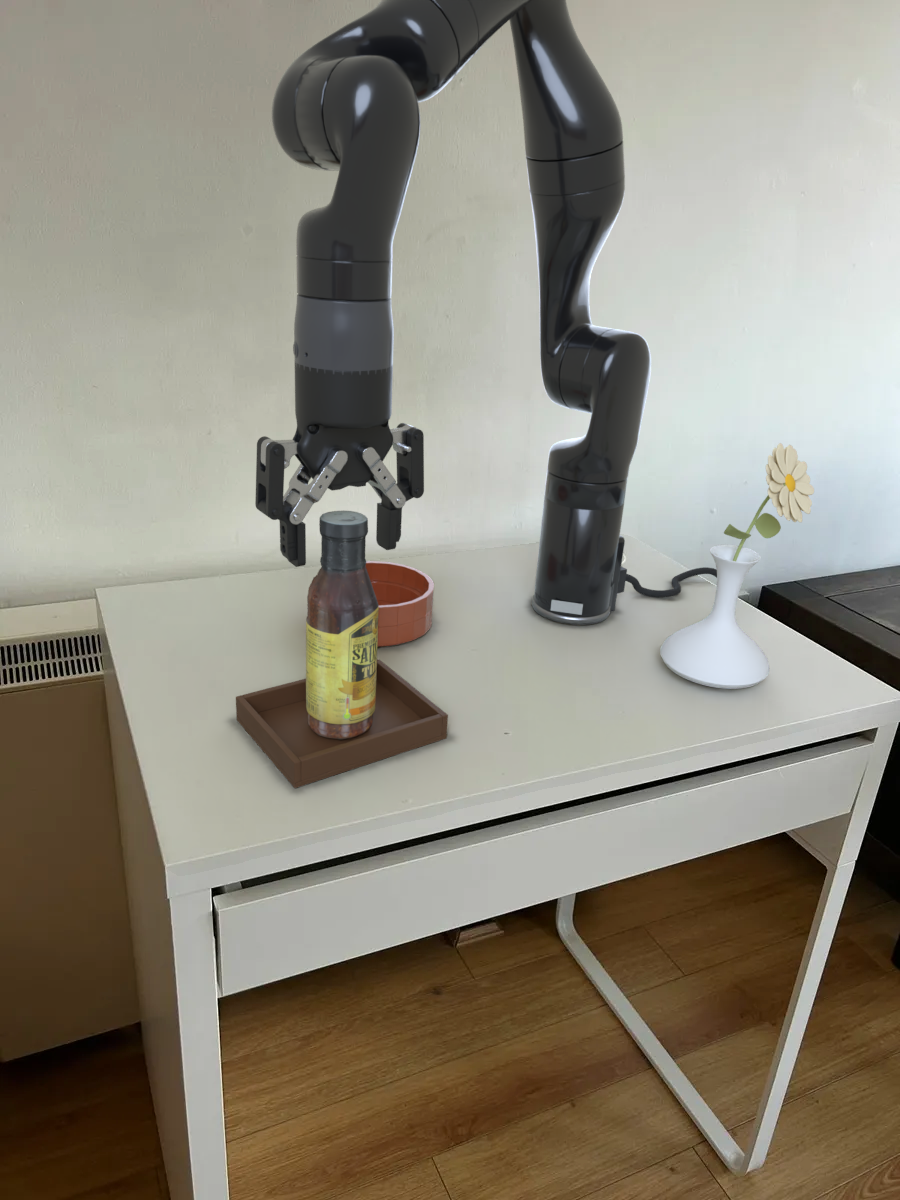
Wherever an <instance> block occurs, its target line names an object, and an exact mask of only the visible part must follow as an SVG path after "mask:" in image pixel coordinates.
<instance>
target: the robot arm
mask: <svg viewBox="0 0 900 1200" xmlns="http://www.w3.org/2000/svg"><path fill="white" fill-rule="evenodd" d="M508 22H509V25H510V31H511V37H512V43H513V49H514V57H515V65H516V73H517V79H518V88H519V97H520V105H521V113H522V123H523V124H522V126H523V135H524V136H523V140H524V151H525V152H524V153H525V154H524V155H525V161H526V162H525V163H526V172H527V181H528V182H527V183H528V190H529V196H530V203H531V204H530V205H531V210H532V219H533V227H534V228H533V229H534V236H535V239H534V240H535V250H536V263H537V275H538V276H537V277H538V292H539V293H538V294H539V295H538V296H539V360H540V361H539V362H540V374H541V380H542V384H543V388H544V391H545V393H546V395H547V397H548V398H549V399H550V401H551V402H552V403H554V404H556V405H558V406H559V407H563V408H565V409H569V410H573V411H578V412H581V413H582V412H583V413H587V414H590V419H589V422H588V428H587V431H586V433H585V434H584V435H583V436H580V437H572V438H568V439H564V440H560V441H557V442H555V443H553V444H552V445H551V447H550V448H549V451H548V457H547V467H546V474H545V475H546V476H545V485H544V495H543V506H542V515H541V526H540V535H539V543H538V544H539V545H538V554H537V562H536V563H537V564H536V572H535V581H534V582H535V583H534V591H533V592H534V594H533V596H532V602H531V603H532V606H531V607H532V609H533V610H534V612H536V613H537V614H538V615H539V616H541V617H543V618H545V619H547V620H550V621H553V622H556V623H560V624H566V625H575V626H583V625H586V626H587V625H593V624H597V623H601V622H603V621H605V620H606V619H608V618H609V616H610V613H612V612H615V611H616V605H617V598H618V594H621V593H624V592H625V587H626V582H628V583H630V584H631V585H632V587H633V589H634V591H635V592H636V593H638V594H640V595H643V596H647V597H651V598H669V597H674V596H675V597H676V596H678V595H679V594H680V593H681V591H682V586H681V584H680V582H682V581H684V580H687V579H689V578H692V577H695V576H699V575H711V576H713V577H715V578H716V579H717V569H716V568H713V567H706V566H705V567H696V568H693V569H688V570H687V571H683V572H682V573H679V574H676V575H675V576H673V577H672V579H671V582H670V584H671V586H672V588H671V589H664V590H661V589H660V590H659V589H650V588H646V587H643V586H642V585H641V583H640V580H639V579H638V578H637V577H635V576H633V575H631V574H629V573H628V569H627V568H625V567H623V566H622V563H623V555H624V548H625V544H626V543H625V542H626V541H625V537H624V536H623V535H621V529H622V523H623V515H624V508H625V500H626V493H627V486H628V478H629V473H630V467H631V463H632V461H633V459H634V456H635V453H636V450H637V447H638V443H639V439H640V433H641V427H642V422H643V421H642V420H643V417H644V411H645V407H646V402H647V398H648V393H649V387H650V381H651V373H652V355H651V349H650V347H649V344H648V341H647V340H646V339H645V338H644V337H643V335H641V334H639V333H637V332H633V331H629V330H624V329H617V328H611V327H605V326H598V325H594V324H593V322H592V318H591V307H590V286H591V285H590V284H591V277H592V272H593V269H594V266H595V264H596V261H597V259H598V257H599V255H600V253H601V251H602V249H603V247H604V245H605V244H606V241H607V239H608V237H609V236H610V234H611V231H612V229H613V227H614V225H615V223H616V221H617V218H618V217H619V214H620V211H621V208H622V206H623V203H624V198H625V193H626V173H625V172H626V171H625V169H626V168H625V150H624V149H625V147H624V131H623V122H622V118H621V114H620V111H619V109H618V106H617V104H616V101H615V100H614V97H613V95H612V93H611V92H610V90H609V88H608V86H607V85H606V82H605V81H604V79H603V78H602V75H601V74H600V72H599V71H598V69H597V68H596V65H595V64H594V63H593V61H592V59H591V58H590V56H589V54H588V52H587V51H586V49H585V47H584V46H583V44H582V42H581V40H580V39H579V36H578V34H577V31H576V29H575V27H574V25H573V22H572V18H571V15H570V12H569V8H568V5H567V0H380V2H379V3H378V4H377V5H376V6H375V7H374V8H372V9H371V10H370V11H368V12H366V13H365V14H363V15H361V16H360V17H358V18H356V19H354V20H352V21H351V22H349V23H347V24H345V25H343V26H342V27H340V28H338V29H337V30H335V31H334V32H332V33H330V34H328V35H327V36H326V37H324V38H323V39H321V40H319V41H318V42H316V43H315V44H313V45H312V46H311V47H309V48H307V49H306V50H305V51H304V52H302V53H301V54H300V55H298V57H296V58H295V59H294V60H293V61H292V62H291V63H290V65H289V66H288V68H287V69H286V70H285V71H284V72H283V74H282V76H281V78H280V80H279V81H278V84H277V86H276V89H275V91H274V95H273V99H272V105H271V124H272V129H273V132H274V135H275V138H276V140H277V143H278V144H279V146H280V148H281V149H282V151H283V152H284V154H286V155H287V156H288V157H289V158H290V159H291V160H292V161H293V162H294V163H297V164H298V165H300V166H302V167H304V168H308V169H311V170H314V171H315V170H316V171H323V172H325V171H327V172H338V173H337V174H338V175H337V179H336V182H335V186H334V190H333V193H332V196H331V198H330V202H329V203H328V204H326V205H325V206H322V207H317V208H314V209H311V210H309V211H306V212H305V213H303V214H302V215H301V218H300V219H299V221H298V223H297V228H296V238H295V239H296V240H295V241H296V242H295V243H296V244H295V245H296V247H295V248H296V249H295V250H296V307H295V315H294V321H293V323H294V324H293V340H294V341H293V345H292V352H293V356H294V411H295V419H296V429H295V433H294V435H293V437H292V439H272V438H270V437H268V436H266V435H265V436H261V437H259V438H258V440H257V442H256V466H255V504H254V505H255V508H256V510H258V511H259V512H260V513H262V514H263V515H264V516H266V517H267V518H269V519H270V520H273V521H276V520H278V521H279V546H280V547H279V550H280V553H281V555H282V556H283V557H284V558H285V559H286V560H287V561H288V562H289V563H290V564H292V566H294V567H296V568H297V567H298V568H299V567H303V566H304V567H305V566H306V564H307V541H306V539H307V537H306V532H307V531H306V523H305V522H303V521H304V519H305V518H306V517H307V514H308V513H309V511H310V510H311V509H312V507H313V505H314V504H316V503H318V502H319V501H320V500H321V499H322V498H323V496H324V495H325V493H326V491H327V490H329V491H339V490H340V491H341V490H342V489H343V490H344V489H345V488H348V487H356V488H361V487H367V483H368V484H369V485H370V486H371V488H372V489H373V490H374V492H375V493H376V495H377V496H378V497H379V499H380V501H381V502H377V503H376V530H375V531H376V533H375V534H376V535H375V537H376V538H375V539H376V543H377V545H378V546H379V547H381V548H382V549H384V550H385V551H392V550H395V549H396V548H397V543H399V542H400V540H401V538H402V519H403V518H402V517H403V515H402V514H403V507H404V506H405V505H406V503H407V502H408V501H411V499H420V498H422V497H423V495H424V492H425V450H424V449H425V447H424V446H425V445H424V444H425V443H424V441H425V439H424V431H423V430H421V429H420V428H417V427H416V426H413V425H410V424H407V423H405V422H400V423H399V424H397V426H396V427H395V428H390V425H389V424H390V423H389V422H390V420H391V417H392V414H393V413H392V410H393V409H392V408H393V377H394V376H393V375H394V373H393V372H394V341H395V340H394V339H395V336H394V334H395V327H394V317H393V309H392V295H393V294H392V289H393V245H394V238H395V234H396V232H397V231H396V230H397V228H398V224H399V221H400V217H401V214H402V211H403V207H404V202H405V199H406V195H407V190H408V188H409V184H410V180H411V177H412V173H413V170H414V165H415V162H416V159H417V154H418V150H419V149H418V148H419V144H420V136H421V111H420V104H419V103H423V102H426V101H429V100H430V99H432V98H433V97H435V96H436V95H438V94H439V93H440V92H441V91H442V90H444V89H445V88H446V87H447V85H449V83H450V82H452V81H453V79H455V77H456V76H457V75H458V74H459V73H460V71H462V70H463V68H464V67H465V66H466V65H467V64H468V63H469V62H470V61H471V60H472V59H473V57H474V56H475V55H477V53H478V52H479V51H480V50H481V49H482V48H483V46H485V44H486V43H487V42H488V41H489V40H490V39H491V38H492V37H493V36H495V34H496V33H497V32H498V31H499V30H501V28H502V27H504V25H505V24H507V23H508ZM391 449H393V451H394V452H396V479H395V478H394V476H393V475H392V473H391V472H390V471H389V469H388V467H386V465H385V464H384V463H385V462H383V461H384V460H385V459H386V457H387V455H388V453H389V452H390V450H391ZM293 456H295V457H296V459H297V460H298V461H299V463H300V464H299V465H298V467H297V468H296V470H295V471H294V473H293V475H292V477H291V478H290V479H289V481H288V488H287V490H286V492H285V493H284V490H285V489H284V487H285V486H284V484H285V469H287V468H289V467H290V466H291V465H290V463H291V459H292V458H293ZM311 479H312V481H311ZM310 481H311V482H310ZM309 482H310V483H309Z"/></svg>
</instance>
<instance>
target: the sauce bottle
mask: <svg viewBox="0 0 900 1200" xmlns="http://www.w3.org/2000/svg"><path fill="white" fill-rule="evenodd" d="M318 523H319V525H318V526H319V534H320V536H321V548H320V549H321V550H320V551H321V556H320V558H319V559H320V560H319V562H320V566H321V567H320V568H319V570H318V572H317V574H316V575H315V576H313V578H312V580H311V582H310V585H309V586H308V591H307V597H306V598H307V604H306V606H307V616H306V619H305V679H306V709H307V712H308V724H309V726H310V727H311V730H312V731H314V733H316V734H318V735H319V736H322V737H326V738H332V739H340V740H343V739H347V738H352V737H356V736H358V735H361V734H363V733H365V732H366V731H368V730H369V728H370V727H371V726H372V722H373V713H374V711H375V699H376V669H377V660H378V647H377V641H378V602H377V598H376V595H375V592H374V590H373V587H372V584H371V581H370V578H369V575H368V572H367V569H366V561H367V560H366V542H367V541H366V538H367V535H368V533H369V520H368V517H367V516H366V515H365V514H363V513H362V512H358V511H353V510H334V511H333V510H332V511H327V512H323V513H322V514H321V515H320V516H319V522H318Z"/></svg>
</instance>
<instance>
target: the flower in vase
mask: <svg viewBox="0 0 900 1200" xmlns="http://www.w3.org/2000/svg"><path fill="white" fill-rule="evenodd" d="M771 452H772V453H771V454H769V455H768V456H767V463H766V465H765V472H766V476H765V481H766V484H767V485H768V488H767V496H765V499H764V500H763V501H762V503H761V504H760V506H759V507H758V509H757V511H756V513H755V515H754V517H753V518H752V521H751V523H750V524H749V526H748V528H747V529H746V531H742V530H739V529H738V528H736V527H735V526H733V524H731V523H729V524H728V525H727V527H726V528H725V529H724V531H723V534H724V535H726V536H729V537H732V538H735V539H738V540H741V541H740V543H739V545H735V544H717V545H714V546H711V547H710V548H709V553H710V555H711V557H712V558H713V560H714V563H715V569H716V570H717V578H716V588H715V589H716V590H715V596H714V601H713V605H712V608H711V611H710V612H709V613H708V615H707V616H706V617H705V618H702V619H701V620H699V621H697V622H695V623H692V624H690V625H688V626H685V627H682V628H680V629H678V630H676V631H675V632H673V633H672V634H670V635H669V636H668V637H666V638H665V640H664V641H663V642H662V644H661V646H660V649H659V654H660V656H661V659H662V661H663V662H664V665H666V667H667V668H668V669H669V670H670V671H672V672H673V673H674V674H675V675H677V676H679V677H681V678H683V679H684V680H688V681H689V682H693V683H696V684H698V685H701V686H702V685H703V686H706V687H711V688H717V689H731V690H735V689H736V690H737V689H746V688H751V687H753V686H756V685H757V684H760V683H761V682H762V681H764V680H765V679H766V678H767V677H768V676H769V674H770V663H769V658H768V656H767V654H765V652H764V651H763V650H762V648H761V646H760V645H759V644H758V643H757V642H756V641H755V640H754V639H753V638H752V637H751V636H750V635H749V634H748V633H746V631H744V629H743V628H742V627H741V626H740V625H739V623H738V621H737V617H736V611H737V610H736V609H737V604H738V599H739V596H740V593H741V588H742V585H743V583H744V581H745V579H746V577H747V575H748V573H749V572H750V570H751V569H752V568H753V567H754V566H755V565H756V564H757V563H759V562H760V561H761V558H762V557H761V555H760V553H758V552H757V551H755V550H754V549H751V548H748V547H746V546H745V547H744V544H745V543H746V540H747V539H749V538H750V537H751V536H752V534H750V533H751V531H752V530H753V528H754V526H755V529H756V531H757V532H758V533H759V534H760V535H761V536H762V537H763V538H764V539H771V538H773V537H775V536H776V535H778V534H779V532H781V530H782V526H781V523H780V521H779V520H778V519H777V518H776V517H775V516H774V515H772V514H771V513H768V512H763V513H761V512H762V511H763V509H764V508H765V506H766V505H767V503H768V502H769V500H771V504H772V505H773V507H774V508H776V513H777V515H778V516H779V517H783V516H784V518H785V519H786V520H787V521H788V522H790V521H792V522H793V523H797V522H798V523H803V512H804V513H805V514H807V515H810V514H811V512H812V509H811V507H812V505H813V501H812V499H811V498H810V496H812V495H814V493H815V487H814V486H813V485H812V484H811V477H810V475H809V474H808V473H807V471H808V464H807V462H806V461H804V460H803V461H801V460H799V459H798V458H799V456H798V450H797V449H795V448H794V447H793V445H792V444H788V445H787V446H786V447H784V445H783V443H781V442H778V444H777V446H776V447H773V449H772V451H771ZM760 514H761V515H760Z"/></svg>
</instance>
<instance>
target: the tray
mask: <svg viewBox="0 0 900 1200" xmlns="http://www.w3.org/2000/svg"><path fill="white" fill-rule="evenodd" d="M235 711H236V712H235V713H236V721H237V722H238V723H239V724H240V726H241V727H242V729H244V731H245V732H246V733H247V734H248V735H249V737H250V738H252V740H253V741H254V742H255V743H256V744H257V746H258V747H259V748H260V749H261V750H262V752H263V753H264V754H265V755H266V756H267V757H268V759H269V760H270V761H271V762H272V763H273V764H274V766H275V767H276V768H277V769H278V771H279V772H280V773H281V774H282V775H283V776H284V777H285V779H286V780H287V781H288V783H290V785H291V786H292V787H293V788H294V789H298V788H300V787H303V786H306V785H310V784H312V783H316V782H318V781H322V780H324V779H327V778H330V777H334V776H337V775H340V774H343V773H347V772H349V771H351V770H355V769H358V768H362V767H364V766H367V765H369V764H373V763H376V762H379V761H382V760H385V759H388V758H392V757H394V756H397V755H401V754H403V753H406V752H409V751H413V750H415V749H418V748H422V747H424V746H427V745H430V744H433V743H436V742H439V741H443V740H446V739H447V737H448V722H449V714H447V713H446V712H445V711H444V710H443V709H442V708H440V707H439V706H437V705H436V703H434V702H433V701H432V700H430V699H429V698H428V697H427V696H426V695H424V694H423V693H421V691H419V690H418V689H417V688H416V687H414V686H413V684H411V683H410V682H408V681H407V680H406V679H404V677H402V676H401V675H400V674H398V673H397V672H396V671H394V670H393V669H392V668H391V667H390V666H388V664H386V663H385V662H383V661H382V660H381V659H377V669H376V699H375V711H374V713H373V722H372V726H371V727H370V728H369V730H368V731H366V732H365V733H363V734H361V735H358V736H356V737H352V738H347V739H343V740H340V739H332V738H326V737H322V736H319V735H318V734H316V733H314V731H312V730H311V727H310V726H309V724H308V712H307V709H306V678H302V679H299V680H295V681H291V682H287V683H283V684H280V685H276V686H272V687H267V688H264V689H260V690H256V691H252V692H248V693H244V694H242V695H241V694H240V695H236V696H235Z"/></svg>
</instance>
